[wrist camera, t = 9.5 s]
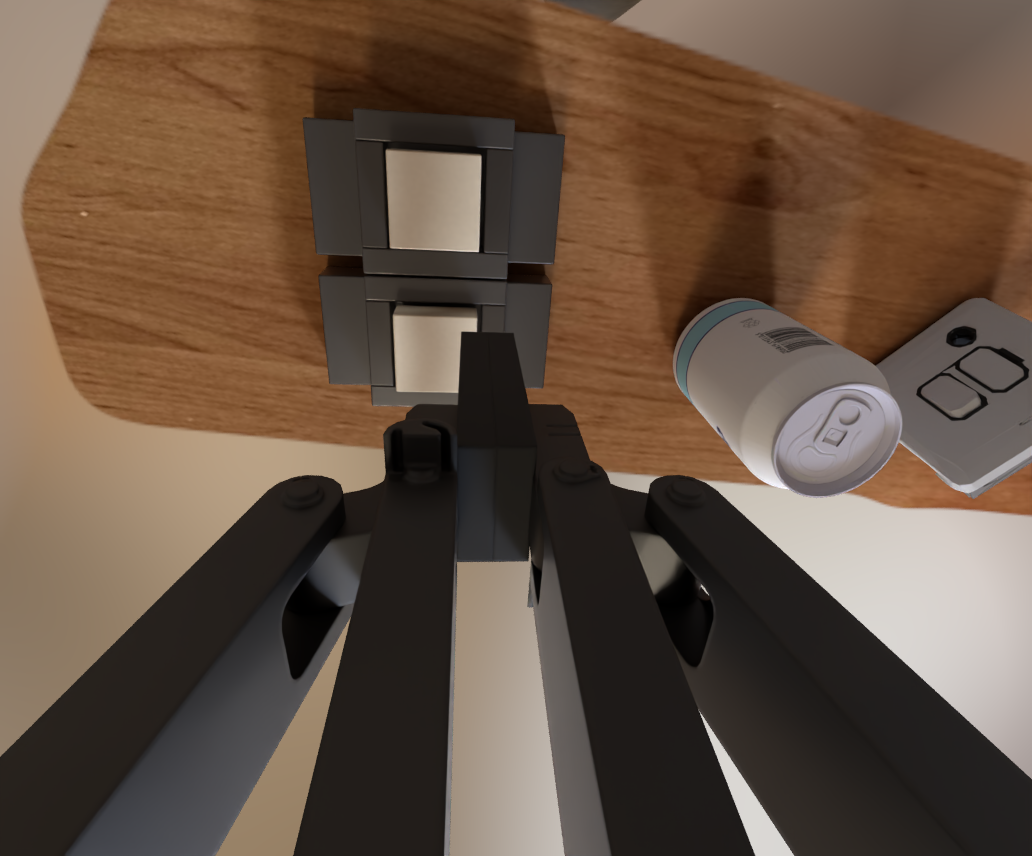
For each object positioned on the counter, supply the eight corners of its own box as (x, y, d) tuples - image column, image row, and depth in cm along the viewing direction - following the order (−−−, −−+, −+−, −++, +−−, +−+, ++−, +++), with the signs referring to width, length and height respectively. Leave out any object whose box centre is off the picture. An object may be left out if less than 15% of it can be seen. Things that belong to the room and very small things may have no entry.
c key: (480, 153, 25) (481, 154, 24) (478, 246, 27) (479, 252, 26) (390, 148, 25) (385, 149, 23) (393, 242, 27) (389, 248, 25)
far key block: (547, 266, 31) (558, 283, 28) (538, 381, 34) (546, 409, 31) (326, 257, 30) (308, 273, 27) (337, 377, 33) (322, 405, 30)
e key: (476, 307, 28) (477, 317, 27) (474, 380, 30) (475, 393, 29) (396, 304, 28) (392, 314, 26) (399, 378, 30) (395, 392, 28)
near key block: (559, 124, 28) (573, 122, 25) (547, 264, 31) (558, 281, 28) (312, 107, 27) (289, 103, 23) (326, 255, 30) (308, 271, 27)
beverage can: (647, 380, 35) (727, 485, 24) (703, 276, 32) (821, 343, 22) (738, 414, 37) (850, 526, 26) (799, 317, 34) (952, 399, 23)
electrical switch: (972, 290, 34) (1137, 353, 26) (993, 346, 37) (1150, 418, 29) (836, 389, 37) (949, 473, 29) (864, 435, 39) (976, 523, 31)
